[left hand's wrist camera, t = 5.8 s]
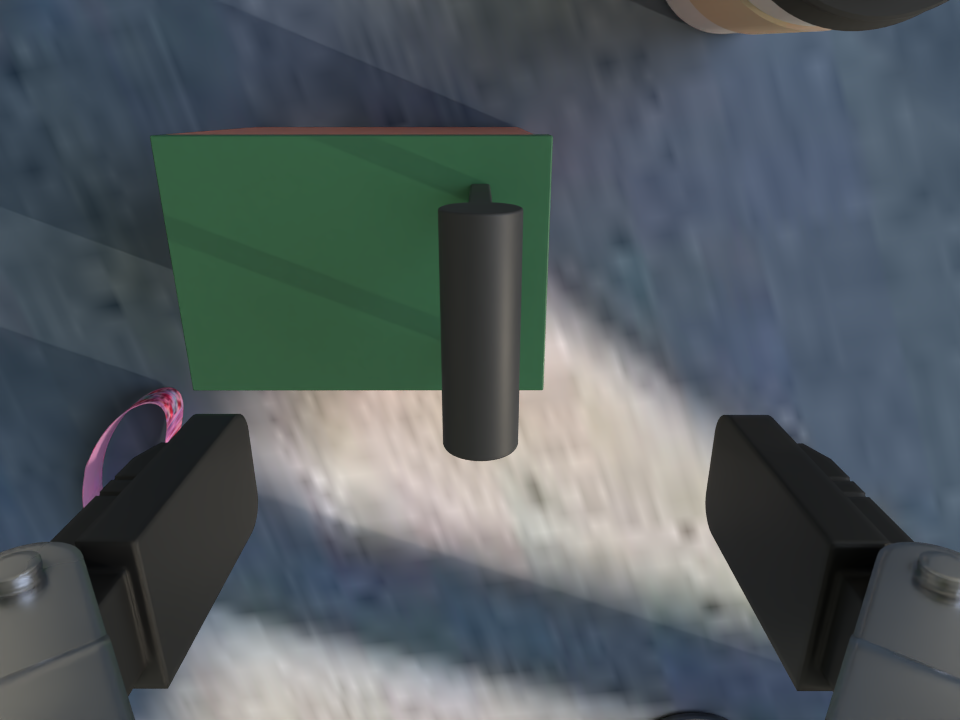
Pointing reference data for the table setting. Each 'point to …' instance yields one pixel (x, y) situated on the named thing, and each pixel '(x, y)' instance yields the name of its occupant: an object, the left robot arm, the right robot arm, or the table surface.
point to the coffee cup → (796, 14)
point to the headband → (163, 397)
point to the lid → (365, 267)
